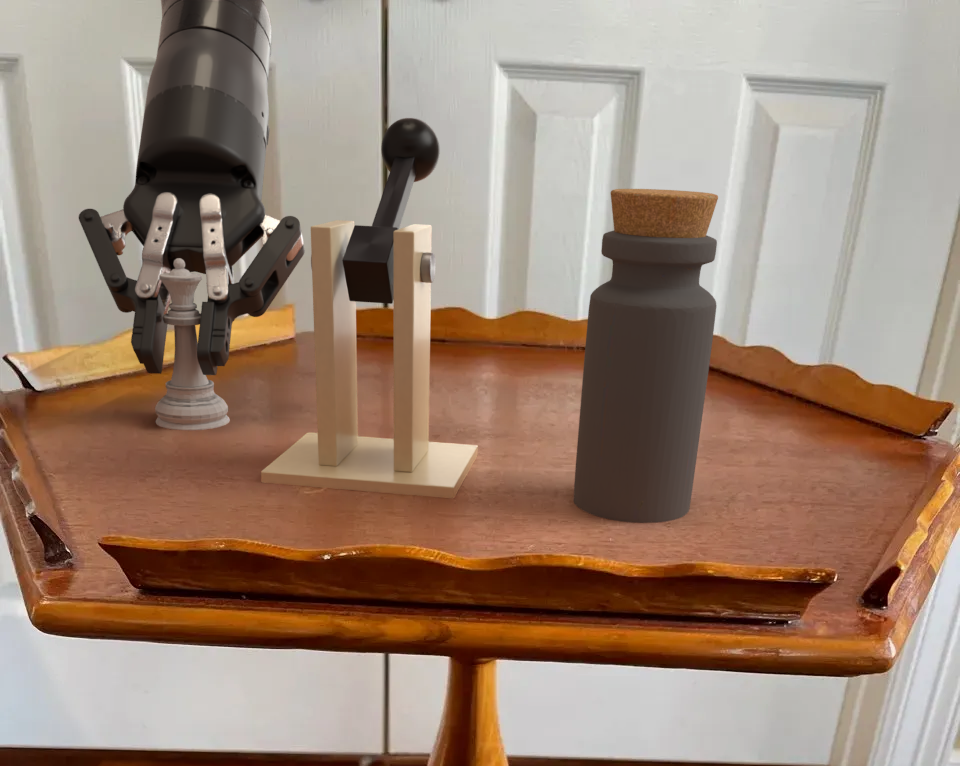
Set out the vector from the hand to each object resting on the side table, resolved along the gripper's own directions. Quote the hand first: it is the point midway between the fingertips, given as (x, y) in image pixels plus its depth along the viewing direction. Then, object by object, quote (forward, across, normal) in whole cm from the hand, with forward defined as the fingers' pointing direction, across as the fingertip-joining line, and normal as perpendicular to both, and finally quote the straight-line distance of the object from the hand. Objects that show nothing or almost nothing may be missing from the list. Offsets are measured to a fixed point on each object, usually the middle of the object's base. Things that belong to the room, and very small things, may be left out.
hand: (179, 365), depth 59 cm
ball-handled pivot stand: (+8, +12, -2) cm, 14 cm away
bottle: (+11, +25, -5) cm, 28 cm away
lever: (-5, +13, -7) cm, 15 cm away
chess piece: (+2, 0, +5) cm, 5 cm away
